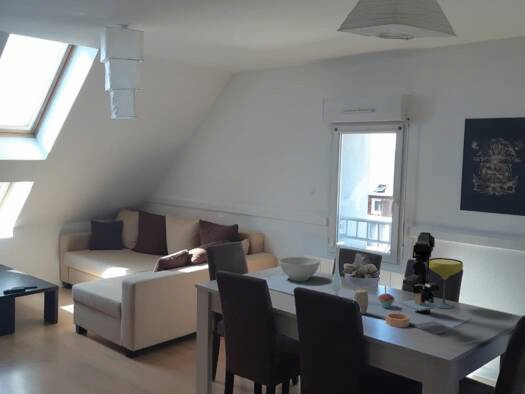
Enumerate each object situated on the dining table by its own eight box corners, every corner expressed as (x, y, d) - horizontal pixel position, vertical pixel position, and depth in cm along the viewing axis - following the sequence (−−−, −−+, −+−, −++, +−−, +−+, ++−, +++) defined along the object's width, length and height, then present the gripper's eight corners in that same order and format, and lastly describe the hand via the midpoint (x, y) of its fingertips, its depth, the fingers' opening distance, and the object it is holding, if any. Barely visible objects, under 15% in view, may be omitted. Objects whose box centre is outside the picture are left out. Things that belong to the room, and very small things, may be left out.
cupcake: (390, 309, 293) (391, 287, 292) (375, 307, 297) (376, 285, 296) (396, 306, 300) (396, 284, 299) (381, 303, 305) (381, 282, 304)
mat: (434, 321, 273) (434, 320, 273) (457, 330, 259) (457, 329, 259) (410, 325, 266) (410, 324, 266) (433, 335, 253) (433, 334, 253)
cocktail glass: (468, 307, 299) (469, 262, 297) (447, 312, 289) (449, 265, 287) (440, 299, 314) (441, 256, 312) (419, 304, 304) (421, 259, 301)
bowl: (398, 319, 275) (399, 312, 275) (414, 326, 265) (414, 318, 265) (381, 322, 270) (381, 314, 270) (396, 329, 261) (396, 320, 260)
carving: (367, 315, 282) (368, 292, 281) (353, 314, 284) (353, 291, 283) (367, 311, 289) (368, 289, 288) (353, 310, 290) (353, 288, 289)
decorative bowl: (270, 279, 359) (271, 261, 358) (292, 272, 380) (292, 255, 380) (306, 285, 343) (306, 266, 342) (326, 278, 365) (327, 260, 364)
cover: (420, 300, 273) (420, 289, 272) (440, 307, 261) (440, 295, 261) (400, 303, 266) (400, 292, 266) (419, 310, 255) (420, 298, 255)
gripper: (394, 267, 267) (393, 298, 268) (422, 274, 250) (421, 308, 252) (412, 265, 272) (411, 296, 273) (440, 272, 256) (439, 305, 257)
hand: (420, 301), depth 264 cm, fingers closed on cover, 4 cm apart
